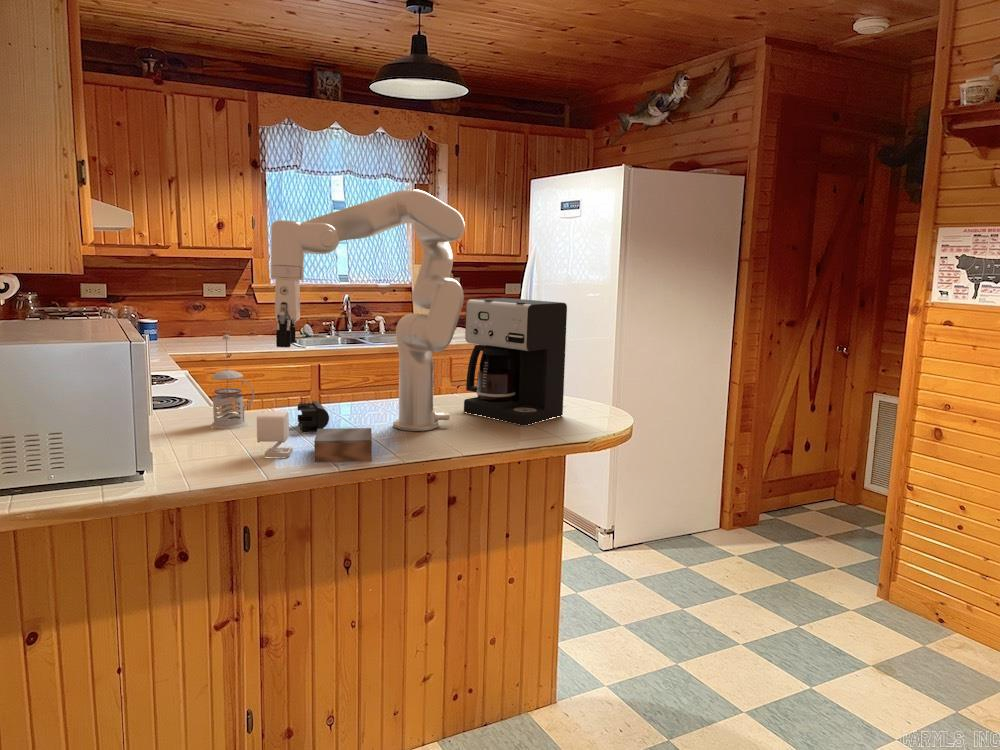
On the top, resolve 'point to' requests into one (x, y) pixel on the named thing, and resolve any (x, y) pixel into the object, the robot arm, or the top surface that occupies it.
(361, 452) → the walnut stand
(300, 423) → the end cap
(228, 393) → the french press
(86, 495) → the top surface
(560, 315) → the coffee maker
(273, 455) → the security camera
